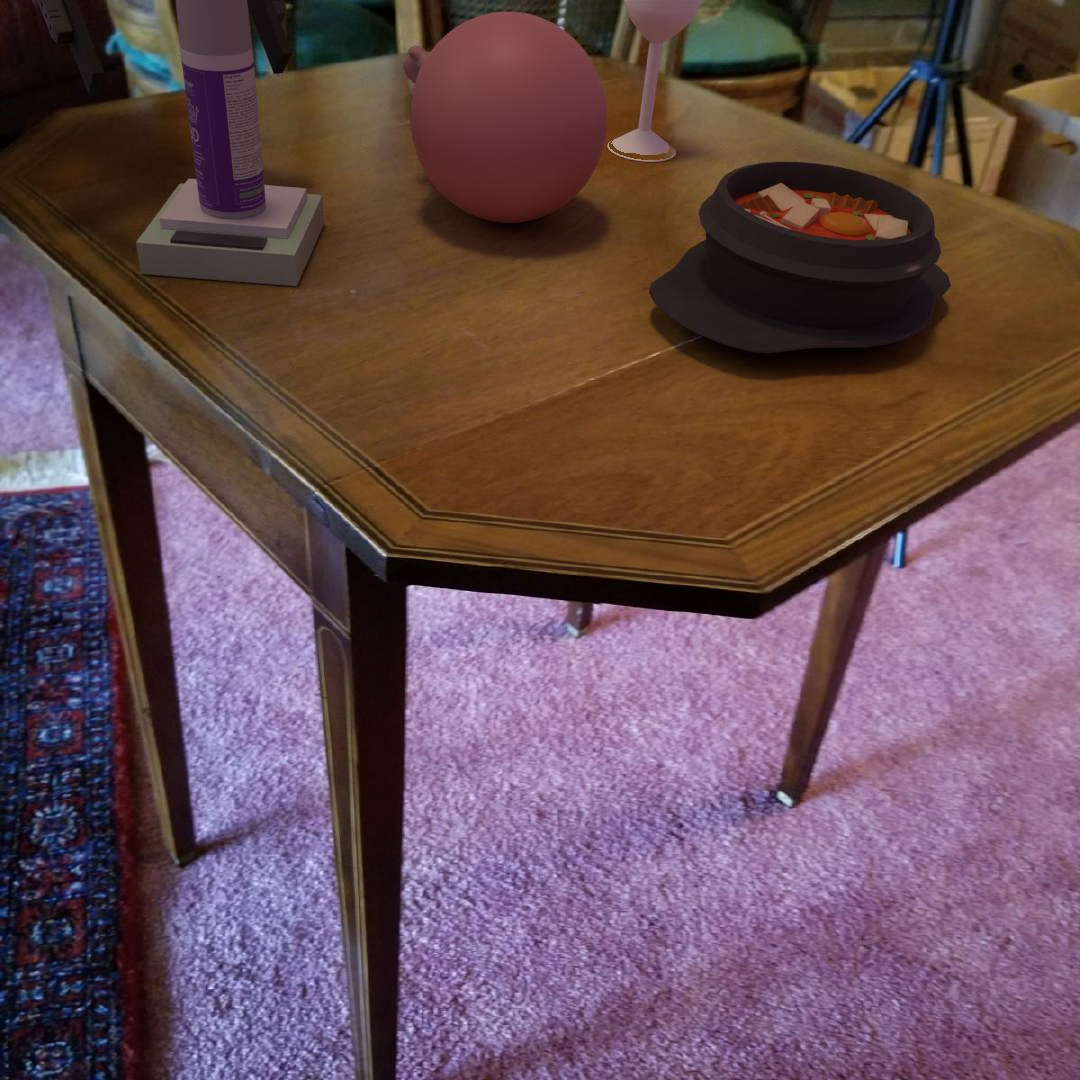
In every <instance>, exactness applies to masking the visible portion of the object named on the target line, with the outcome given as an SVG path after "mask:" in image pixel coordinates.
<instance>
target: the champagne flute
mask: <svg viewBox="0 0 1080 1080" xmlns="http://www.w3.org/2000/svg"><path fill="white" fill-rule="evenodd" d="M623 3H624V7H625V10H626V13H627V16H628V17H629V19H630V21H631V22H632V24H633V25H634V26H635V28H636V29H637V31H638V32H639V33H640V35H641V36H642V37H643V38H644V39H645V40H647V41H648V42H649V43H648V50H647V59H646V66H645V72H644V73H645V76H644V83H643V89H642V96H641V97H642V98H641V104H640V111H639V112H640V113H639V119H638V127H637V128H635V129H633V130H631V131H629V132H627V133H625V134H623V135H620V136H619V137H616V138H614V139H612V140H613V141H612V140H610V141H609V142H608V143H607V149H608V151H610V152H611V153H612V154H614V155H615V156H619V157H621V158H624V159H627V160H631V161H637V162H649V163H657V162H664V161H668V160H671V159H673V158H674V157H676V155H677V152H676V149H675V148H674V147H673V146H671V147H672V148H673V149H674V151H675V153H674V155H672V156H671V157H669V158H666V159H660V160H641V159H634V158H630V157H626V156H623V155H620V154H618V153H616V152H614V151H613V150H612V149H610V147H609V143H610V142H611V141H612V143H611V144H613V146H614V147H615V148H616V149H617V150H619V151H621V152H624V153H636V154H640V155H659V154H662V153H668V151H669V149H670V147H669V145H670V144H669V143H668V142H667V141H666V140H664V139H663V138H661V136H659V135H658V134H657V133H655V132H654V131H653V130H652V123H653V114H654V108H655V107H654V106H655V99H656V94H657V93H656V92H657V86H658V79H659V71H660V64H661V56H662V49H663V44H664V43H666V42H669V41H670V40H672V38H675V37H676V36H677V35H678V34H679V33H680V32H682V31H683V30H684V29H685V28H686V27H688V25H689V24H690V23H691V22H692V20H693V19H694V17H695V16H696V15H697V13H698V11H699V9H700V0H623ZM668 144H669V145H668Z"/></svg>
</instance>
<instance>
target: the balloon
mask: <svg viewBox="0 0 1080 1080" xmlns="http://www.w3.org/2000/svg"><path fill="white" fill-rule="evenodd" d="M579 43H580V42H578V41H577V40H576V39H575V38H574V37H572V36H571V35H570V34H569V33H568V32H567V31H565V30H564V29H563V28H561V27H560V26H558V25H557V24H555V23H553V22H551V21H550V20H548V19H545V18H543V17H540V16H537V15H535V14H530V13H526V12H522V11H521V12H519V11H495V12H489V13H485V14H481V15H478V16H476V17H473V18H471V19H468V20H466V21H463V22H462V23H461V24H459V25H457V26H456V27H454V28H453V29H452V30H450V31H449V32H448V33H447V34H445V35H444V36H443V37H442V38H441V39H440V40H439V41H438V42H437V43H436V45H435V46H434V47H433V48H432V49H431V51H427V50H425V49H424V48H423V47H421V46H420V45H412V46H411V47H409V48H408V50H407V53H408V55H409V56H408V57H407V58H405V60H404V62H403V66H402V67H403V71H404V73H405V75H406V77H407V78H408V80H409V79H410V80H411V81H412V82H413V83H414V84H415V85H414V89H413V94H412V96H411V100H410V110H409V121H410V122H409V124H410V132H411V139H412V143H413V146H414V150H415V154H416V156H417V158H418V161H419V163H420V165H421V167H422V169H423V171H424V173H425V175H426V176H427V178H428V179H429V181H430V182H431V183H432V185H433V186H434V187H435V188H436V190H437V192H439V193H440V194H441V195H442V196H443V197H444V198H445V199H446V200H447V201H449V202H450V203H451V204H452V205H454V206H455V207H457V208H458V209H460V210H462V211H463V212H465V213H467V214H469V215H471V216H473V217H476V218H479V219H481V220H485V221H489V222H493V223H502V224H518V223H525V222H526V223H527V222H531V221H535V220H537V219H541V218H543V217H546V216H548V215H550V214H552V213H554V212H556V211H557V210H559V209H561V208H562V207H565V205H566V204H568V203H569V202H571V201H572V200H573V199H574V198H575V197H576V196H577V195H578V194H579V193H580V192H581V191H582V190H583V188H584V187H585V186H586V185H587V183H588V182H589V180H590V179H591V177H592V176H593V174H594V172H595V170H596V168H597V166H598V164H599V162H600V160H601V157H602V155H603V154H602V153H603V151H604V147H605V143H606V138H607V131H608V104H607V99H606V94H605V90H604V86H603V82H602V79H601V77H600V75H599V72H598V70H597V69H596V66H595V64H594V62H593V61H592V60H591V57H590V56H589V54H588V53H587V52H586V50H585V49H584V48H583V47H582V46H581V44H579Z"/></svg>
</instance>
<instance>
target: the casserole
mask: <svg viewBox="0 0 1080 1080" xmlns="http://www.w3.org/2000/svg"><path fill="white" fill-rule="evenodd" d="M698 218H699V222H700V224H701V226H702V227H703V229H704V231H705V239H704V240H701V241H700V242H697V244H695V245H693V246H691V247H690V248H688V250H687V251H686V252H685V253H684V254H683V256H682V257H681V258H680V259H679V260H678V262H677V263H676V264H675V265H674V267H673V268H671V269H670V270H668V271H667V272H665V273H664V274H662V275H660V276H659V277H658V278H657V279H655V280H653V281H652V282H651V283H650V286H649V289H648V293H649V295H650V297H651V299H652V301H653V303H654V304H655V305H656V306H657V307H658V308H659V309H660V310H661V311H662V312H663V313H664V314H665V315H666V316H668V317H669V318H670V319H672V320H673V321H674V322H676V323H678V324H679V325H680V326H681V327H683V328H686V329H688V330H690V331H691V332H693V333H695V334H697V335H699V336H701V337H704V338H706V339H709V340H711V341H714V342H717V343H719V344H721V345H724V346H727V347H730V348H733V349H737V350H740V351H744V352H747V353H752V354H776V353H784V352H791V351H799V350H801V351H802V350H808V349H864V348H865V349H866V348H872V347H878V346H886V345H891V344H894V343H897V342H900V341H904V340H907V339H909V338H912V337H913V336H915V335H917V334H918V333H921V332H922V331H923V330H924V329H925V328H926V327H927V326H928V325H929V324H930V323H931V321H932V318H933V314H934V312H935V309H936V305H937V302H938V301H940V300H941V298H943V296H944V295H946V293H947V292H948V291H949V289H950V288H951V287H952V284H951V280H950V277H949V274H947V273H946V272H945V271H944V270H943V269H942V268H941V267H940V266H939V265H938V264H937V262H938V261H939V259H940V256H941V254H942V250H941V243H940V241H939V239H938V237H936V233H935V232H936V231H935V230H936V229H935V228H936V227H935V217H934V213H933V211H932V210H931V208H930V206H929V205H928V204H927V203H926V202H925V201H923V200H922V199H921V198H920V196H917V195H916V194H914V193H913V192H911V191H910V190H908V189H906V188H904V187H902V186H900V185H897V184H896V183H894V182H891V181H889V180H886V179H883V178H881V177H878V176H876V175H872V174H869V173H865V172H862V171H859V170H855V169H851V168H846V167H842V166H837V165H829V164H824V163H823V164H822V163H815V162H803V161H767V162H758V163H753V164H747V165H744V166H741V167H738V168H735V169H733V170H731V171H729V172H728V173H726V174H724V176H722V178H721V179H720V180H719V182H718V183H717V185H716V188H715V189H714V191H713V193H712V194H711V195H709V196H708V197H707V198H706V199H705V200H704V201H703V202H702V203H701V204H700V207H699V209H698Z"/></svg>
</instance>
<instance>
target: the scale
mask: <svg viewBox="0 0 1080 1080" xmlns="http://www.w3.org/2000/svg"><path fill="white" fill-rule="evenodd" d="M264 187H265V200H266V208H265V210H264V211H263V212H261V213H260V214H258V215H255V216H252V217H248V218H242V219H222V218H216V217H213V216H210V215H207V214H206V213H204V212H203V211H202V210H201V208H200V202H199V194H198V187H197V179H196V178H188V179H187V180H186V181H185V182H184V183H179V184H178V186H176V187H175V189H174V191H173V192H172V193H171V195H170V196H169V197H168V198H167V200H166V202H165V203H164V204H163V205H162V207H161V208H160V210H159V211H158V212H157V213H156V215H155V216H154V217H153V219H152V220H151V221H150V223H149V224H148V225H147V227H146V228H145V230H144V231H143V232H142V234H141V235H140V236H139V238H137V240H136V242H135V245H136V251H137V257H138V258H137V259H138V264H139V270H140V274H141V275H147V276H160V277H161V276H162V277H172V278H173V277H175V278H187V279H199V280H201V279H202V280H211V281H224V282H225V281H226V282H237V283H249V284H262V285H263V284H264V285H276V286H285V287H286V286H288V287H298V285H299V282H300V280H301V279H302V275H303V273H304V271H305V268H306V266H307V264H308V262H309V261H310V260H309V259H310V257H311V256H312V255H311V254H312V253H313V250H314V248H315V246H316V244H317V241H318V239H319V236H320V234H321V232H322V229H323V227H324V224H325V219H324V217H325V215H324V199H323V198H324V197H323V194H313V193H308V189H307V188H305V187H297V186H296V187H293V186H283V185H270V184H264Z"/></svg>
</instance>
